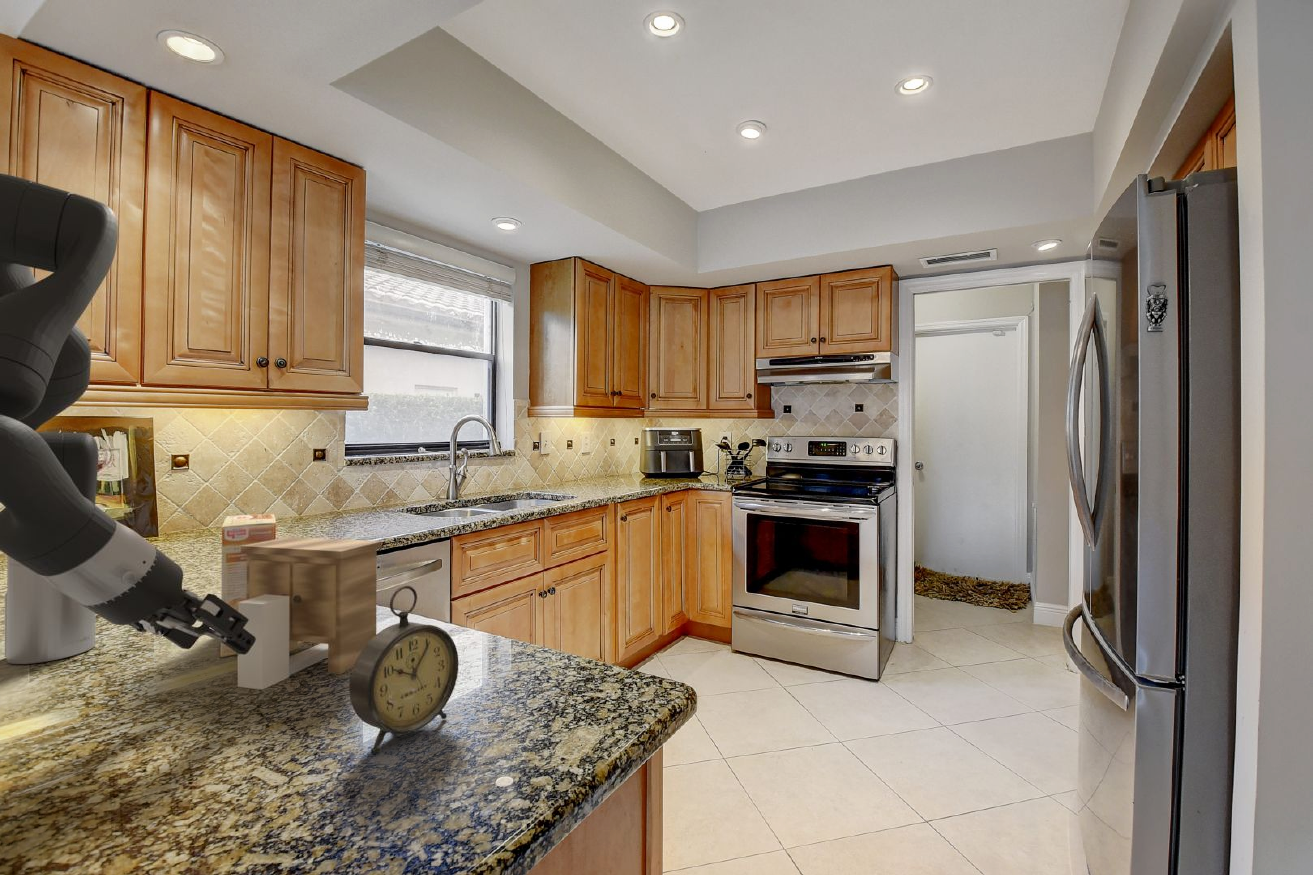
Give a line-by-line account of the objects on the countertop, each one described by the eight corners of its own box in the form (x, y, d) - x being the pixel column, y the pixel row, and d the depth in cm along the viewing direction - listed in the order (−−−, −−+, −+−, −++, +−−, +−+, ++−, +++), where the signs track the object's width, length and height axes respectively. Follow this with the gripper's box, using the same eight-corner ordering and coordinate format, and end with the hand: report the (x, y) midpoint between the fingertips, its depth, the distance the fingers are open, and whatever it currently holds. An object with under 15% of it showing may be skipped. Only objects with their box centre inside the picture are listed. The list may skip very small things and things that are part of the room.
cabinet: (237, 665, 82) (238, 546, 82) (288, 645, 90) (288, 536, 90) (338, 677, 78) (338, 551, 78) (381, 654, 86) (381, 541, 86)
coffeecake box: (276, 648, 89) (276, 522, 89) (218, 658, 85) (218, 526, 85) (274, 623, 101) (275, 512, 101) (224, 630, 97) (224, 515, 97)
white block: (237, 686, 75) (238, 602, 75) (328, 646, 90) (328, 575, 90) (262, 689, 74) (262, 604, 74) (350, 648, 89) (350, 577, 89)
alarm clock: (371, 764, 57) (371, 601, 57) (340, 749, 60) (341, 593, 60) (461, 719, 66) (461, 578, 66) (431, 707, 69) (431, 572, 69)
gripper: (195, 543, 61) (287, 619, 72) (92, 538, 64) (196, 612, 75) (139, 608, 55) (248, 679, 66) (31, 599, 58) (152, 669, 70)
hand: (220, 644), depth 71 cm, fingers open, 8 cm apart
